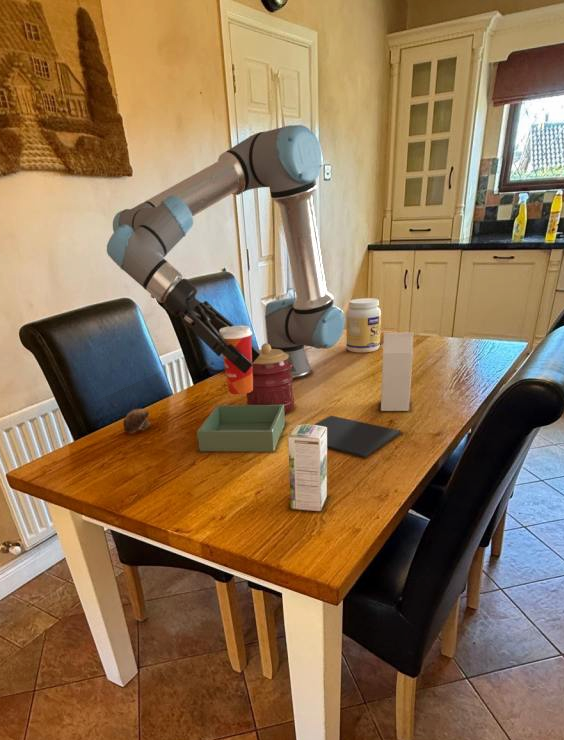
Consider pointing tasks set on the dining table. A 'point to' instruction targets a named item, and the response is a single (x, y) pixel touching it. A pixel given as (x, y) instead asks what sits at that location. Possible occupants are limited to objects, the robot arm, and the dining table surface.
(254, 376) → the kitchen canister
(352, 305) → the supplement tub
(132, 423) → the toy hedgehog
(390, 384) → the milk carton
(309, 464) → the syrup box
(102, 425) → the dining table surface
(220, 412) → the crate
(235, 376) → the paper cup
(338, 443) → the placemat
